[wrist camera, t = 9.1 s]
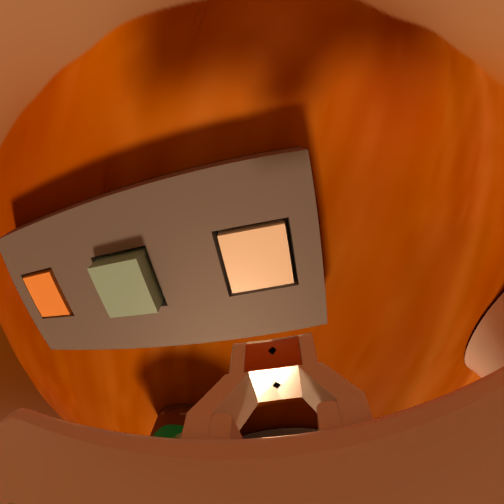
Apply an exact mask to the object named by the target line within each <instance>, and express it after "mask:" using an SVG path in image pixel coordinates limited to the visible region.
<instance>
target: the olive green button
mask: <svg viewBox="0 0 504 504" xmlns="http://www.w3.org/2000/svg"><path fill="white" fill-rule="evenodd" d="M87 270H88V272H89V274H90V277H91V279H92V281H93V283H94V286H95V288H96V290H97V292H98V294H99V296H100V298H101V300H102V303H103V305H104V307H105V309H106V311H107V313H108V315H109V317H110V318H114V317H124V316H134V315H143V314H151V313H158V312H159V309H160V307H161V305H162V303H163V301H164V299H165V297H164V295H163V292H162V290H161V287H160V284H159V282H158V279H157V277H156V274H155V271H154V269H153V266H152V263H151V260H150V258H149V255H148V252H147V249H146V246H145V247H141V248H136V249H131V250H127V251H122V252H118V253H113V254H109V255H105V256H100V257H99V258H98V259H97V260H96V261H94V262H93V263H92V264H91V265H90V266H89V267H88V268H87Z"/></svg>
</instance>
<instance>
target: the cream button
mask: <svg viewBox="0 0 504 504" xmlns="http://www.w3.org/2000/svg"><path fill="white" fill-rule="evenodd" d="M217 238H218V241H219V245H220V249H221V253H222V257H223V260H224V264H225V268H226V272H227V275H228V279H229V283H230V286H231V290H232V293H238V292H244V291H250V290H256V289H262V288H268V287H274V286H280V285H285V284H291V283H294V279H293V273H292V266H291V259H290V253H289V246H288V240H287V234H286V228H285V223H284V220H283V218H282V219H276V220H271V221H265V222H260V223H254V224H249V225H244V226H238V227H233V228H228V229H223V230H219V232H218V235H217Z"/></svg>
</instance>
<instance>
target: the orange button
mask: <svg viewBox="0 0 504 504" xmlns="http://www.w3.org/2000/svg"><path fill="white" fill-rule="evenodd" d="M23 280H24V282H25V285H26V287H27V289H28V291H29V293H30V295H31V297H32V299H33V301H34V303H35V305H36V306H37V308H38V310H39V312H40V314H41V316H42V317H47V316H59V315H70V314H71V313H72V310H71V308H70V306H69V304H68V302H67V300H66V298H65V296H64V294H63V292H62V290H61V288H60V286H59V284H58V282H57V279H56V277H55V275H54V273H53V271H52V268H51V267H50V268H46V269H42V270H38V271H34V272H30V273H28V274H27V275H26V276H25V277H24V278H23Z"/></svg>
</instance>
